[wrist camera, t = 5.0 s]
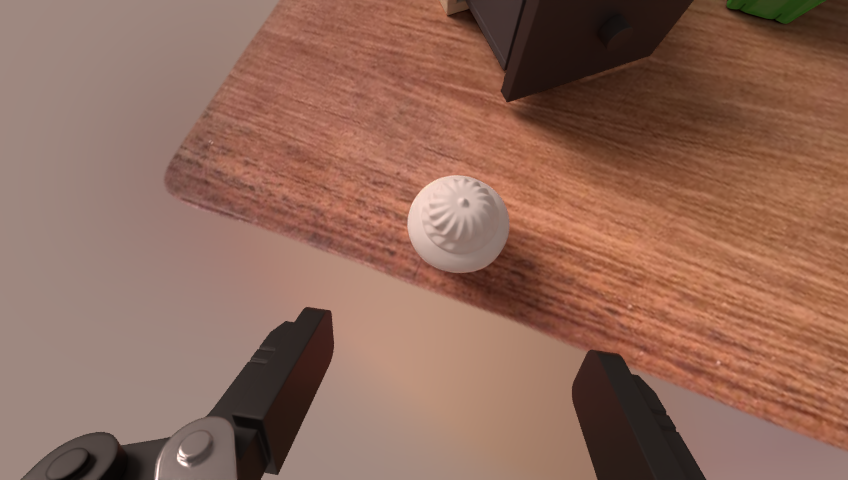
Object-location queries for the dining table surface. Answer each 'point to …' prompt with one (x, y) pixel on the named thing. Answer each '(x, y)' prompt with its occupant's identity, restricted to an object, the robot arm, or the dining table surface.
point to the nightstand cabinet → (453, 6)
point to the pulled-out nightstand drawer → (570, 37)
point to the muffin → (458, 224)
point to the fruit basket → (775, 8)
